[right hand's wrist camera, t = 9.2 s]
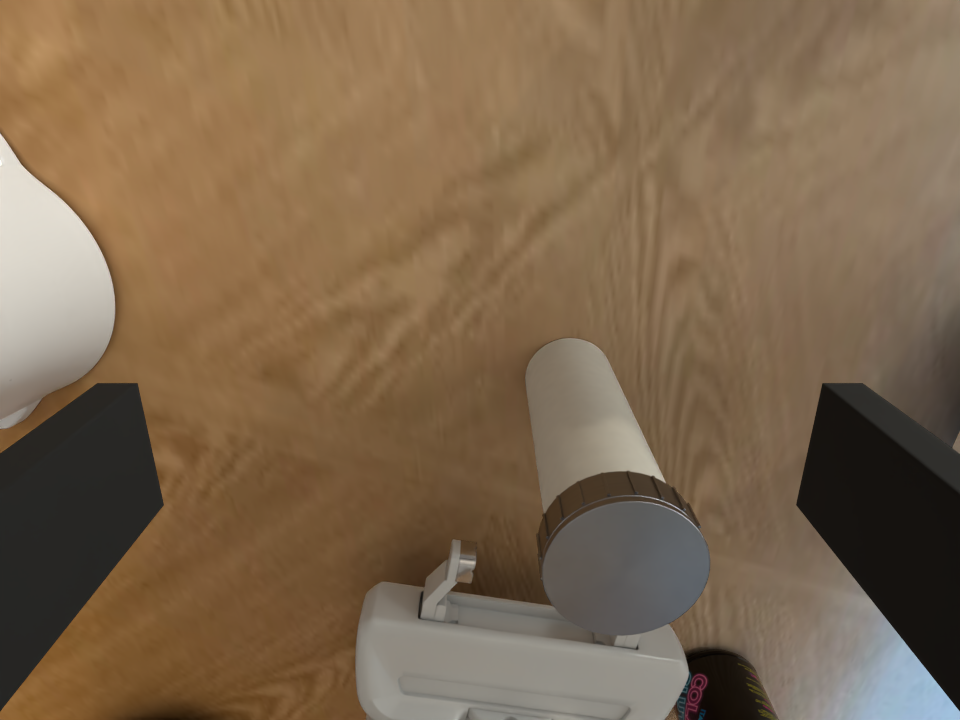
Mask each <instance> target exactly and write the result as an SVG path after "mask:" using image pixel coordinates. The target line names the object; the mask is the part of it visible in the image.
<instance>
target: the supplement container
mask: <svg viewBox="0 0 960 720" xmlns="http://www.w3.org/2000/svg"><path fill="white" fill-rule="evenodd" d="M686 660H687V664H688V669H689V676H688V680H687V682H686V684H685V686H684V688H683V690H682V692H681V694H680V696H679V698H678V700H677V701H676V703H675V705H674V706H673V707H674V710H675V713H676V716H677V719H678V720H779V719H778V717H777V715H776V713H775V711H774V708H773V706H772V704H771V702H770V700H769V698H768V696H767V694H766V692H765V689H764V687H763V685H762V683H761V681H760V679H759V677H758V675H757V673H756V670H755V669H754V667H753V666H752V665H751V664H750V663H749V662H748V661H747V660H746V659H744V658H743V657H742V656H740V655H738V654H736V653H733V652H730V651H726V650H706V651H701V652H698V653H695V654H693V655H691V656H689V657H688V658H686Z"/></svg>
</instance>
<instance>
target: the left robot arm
mask: <svg viewBox="0 0 960 720" xmlns="http://www.w3.org/2000/svg"><path fill="white" fill-rule="evenodd" d="M114 321H115V295H114V289H113V284H112V279H111V276H110V272H109V269H108V266H107V264H106V261H105V259H104V257H103V254H102V252H101V250H100V248H99V246H98V245H97V243H96V241H95V239H94V238H93V236H92V234H91V233H90V232H89V230H88V229H87V227H86V226H85V224H84V223H83V222H82V221H81V219H80V218H79V217H78V216H77V215H76V214H75V212H74V211H73V210H72V209H71V208H70V207H69V206H68V205H67V204H66V203H65V202H64V201H63V200H62V199H61V198H59V197H58V196H57V195H56V194H55V193H54V192H52V191H51V190H50V189H49V188H47V187H46V186H45V185H44V184H42V183H41V182H40V181H39V180H37V179H36V178H35V177H34V176H33V175H31V174H30V173H29V172H28V171H27V170H26V169H25V168H24V167H23V166H22V165H21V163H20V162H19V160H18V159H17V157H16V155H15V154H14V152H13V151H12V149H11V148H10V146H9V145H8V143H7V142H6V140H5V139H4V138H3V136H2V135H1V134H0V429H6V428H10V427H12V426H14V425H16V424H18V423H20V422H22V421H23V420H25V419H26V418H27V417H28V416H29V415H30V414H31V413H32V412H33V410H34V409H35V408H36V406H37V405H38V404H39V402H40V401H41V399H42V398H43V397H45V396H46V395H48V394H50V393H52V392H54V391H56V390H58V389H61V388H63V387H65V386H67V385H70V384H72V383H73V382H75V381H77V380H78V379H80V378H81V377H83V376H84V375H85V374H87V373H88V372H89V371H90V370H91V369H92V368H93V367H94V366H95V365H96V363H97V362H98V361H99V360H100V358H101V357H102V355H103V353H104V352H105V350H106V348H107V346H108V344H109V341H110V338H111V335H112V331H113V327H114ZM476 549H477V543H475V542H469V541H463V540H455V539H453V540H452V543H451V548H450V553H449V558H448V560H445V561H444V562H443V563H442V564H441V565H440V566H439V567H437V568H436V569H435V570H434V571H433V572H432V573H431V574H430V575H429V576H428V577H426V582H425V587H419V586H412V585H405V584H398V583H392V582H380V583H378V584H376V585H375V586H374V587H372V588H371V589H370V590H369V591H367V593H366V595H365V598H364V602H363V606H362V610H361V615H360V620H359V625H358V631H357V639H356V654H355V673H356V688H357V695H358V699H359V702H360V705H361V707H362V708H363V710H364V711H365V712H366V720H665V719H666V717H667V716H668V714H669V713H670V711H671V710H672V708H673V706H674V705H675V703H676V701H677V700H678V698H679V696H680V694H681V692H682V690H683V688H684V686H685V684H686V682H687V680H688V676H689V669H688V664H687V660H686V657H685V654H684V651H683V648H682V646H681V643H680V641H679V639H678V637H677V636H676V634H675V632H674V631H673V629H672V628H671V626H670V625H669V624H667V625H665V626H663V627H660V628H658V629H655V630H653V631H649V632H645V633H641V634H635V635H625V636H614V635H605V634H599V633H595V632H591V631H588V630H585V629H583V628H581V627H579V626H577V625H575V624H573V623H571V622H570V621H568V620H567V619H565V618H564V617H563V616H562V615H561V614H560V613H559V612H558V611H557V610H556V609H555V608H554V607H553V606H550V605H543V604H536V603H529V602H523V601H516V600H509V599H502V598H495V597H488V596H481V595H474V594H467V593H461V592H454V591H450V590H451V589H452V588H453V587H454V586H455V585H456V583H457V582H462V583H472V578H473V569H475V565H476V557H477V551H476Z"/></svg>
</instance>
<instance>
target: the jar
mask: <svg viewBox="0 0 960 720" xmlns="http://www.w3.org/2000/svg"><path fill="white" fill-rule="evenodd" d="M525 384H526V392H527V399H528V406H529V413H530V420H531V427H532V435H533V442H534V449H535V456H536V463H537V471H538V478H539V485H540V492H541V499H542V506H543V513H545V512H546V511H547V509H548V507H549V506H550V505H551V503H552V502H553V501H554V500H555V499H556V496H557V495H560V494H561V493H562V492H563V491H564V490H566V489H567V488H568V487H570V486H571V485H573V484H575V483H576V482H577V481H580V480H583V479H585V478H587V477H590V476H593V475H596V474H601V473H602V472H603V473H606V472H614V471H630V472H637V473H642V474H646V475H649V476H652V475H653V476H655V478H657V479H659V480H661V481H663V482H665V480H664V478H663V475H662V473H661V471H660V469H659V467H658V465H657V463H656V461H655V459H654V456H653V454H652V452H651V450H650V448H649V446H648V444H647V442H646V440H645V437H644V435H643V433H642V431H641V429H640V427H639V425H638V423H637V420H636V418H635V416H634V414H633V412H632V410H631V408H630V406H629V404H628V401H627V399H626V397H625V395H624V393H623V391H622V389H621V387H620V384H619V382H618V380H617V378H616V376H615V374H614V372H613V370H612V368H611V365H610V363H609V361H608V359H607V357H606V356H605V354H604V353H603V352H602V351H601V350H600V349H599V348H598V347H597V346H595V345H594V344H592V343H590V342H588V341H585V340H582V339H577V338H564V339H559V340H555V341H553V342H550V343H548V344H546V345H545V346H543V347H542V348H541V349H539V350H538V351H537V352H536V353H535V355H534V356H533V357H532V359H531V360H530V362H529V364H528V367H527V370H526V374H525ZM665 483H666V482H665Z"/></svg>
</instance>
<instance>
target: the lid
mask: <svg viewBox="0 0 960 720" xmlns="http://www.w3.org/2000/svg"><path fill="white" fill-rule="evenodd" d="M542 516H543V519H542V521H541V524H540V528H539V533H537V534H536V537H537V546H538V562H539V570H540V579H541V580H542V581H543V586H544V590H545V592H546V595H547V597H548V599H549V600H550V602H551V604H552V605H553V607H554V608H555V609H556V610H557V611H558V612H559V613H560V614H561V615H562V616H563V617H564V618H565V619H567V620H568V621H570V622H571V623H573V624H575V625H577V626H579V627H581V628H583V629H585V630H588V631H591V632H595V633H599V634H605V635H614V636H625V635H635V634H641V633H645V632H649V631H653V630H655V629H658V628H660V627H663V626H665V625H667V624H669V623H671V622H673V621H674V620H676V619H677V618H679V617H680V616H681V615H683V614H684V613H685V612H686V611H687V610H689V609H690V607H691V606H692V605H693V604H694V603H695V602H696V601H697V599H698V598H699V597H700V595H701V593H702V591H703V590H704V588H705V585H706V583H707V580H708V576H709V571H710V555H709V550H708V545H707V543H706V541H705V539H704V537H703V535H702V533H701V531H700V529H699V528H701V526H700V524H699V522H698V520H697V518H696V516H695V514H694V512H693V510H692V508H691V506H690V504H689V503H686V502H685V501H684V499H683V498H682V496H681V495H680V494H679V493H678V492H677V490H676V488H675V487H671V486H669V485H668V484H666V483H665V482H663V481H661V480H659V479H657V478H655V476H653V475H652V476H649V475H646V474H642V473H637V472H630V471H614V472H606V473H603V472H602V473H601V474H596V475H593V476H590V477H587V478H585V479H583V480H580V481H577V482H576V483H575V484H573V485H571V486H570V487H568V488H567V489H566V490H564V491H563V492H562V493H561V494H560V495H557V496H556V499H555V500H554V501H553V502H552V503H551V505H550V506H549V507H548V509H547V511H546V512H545V513H543V515H542Z"/></svg>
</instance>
